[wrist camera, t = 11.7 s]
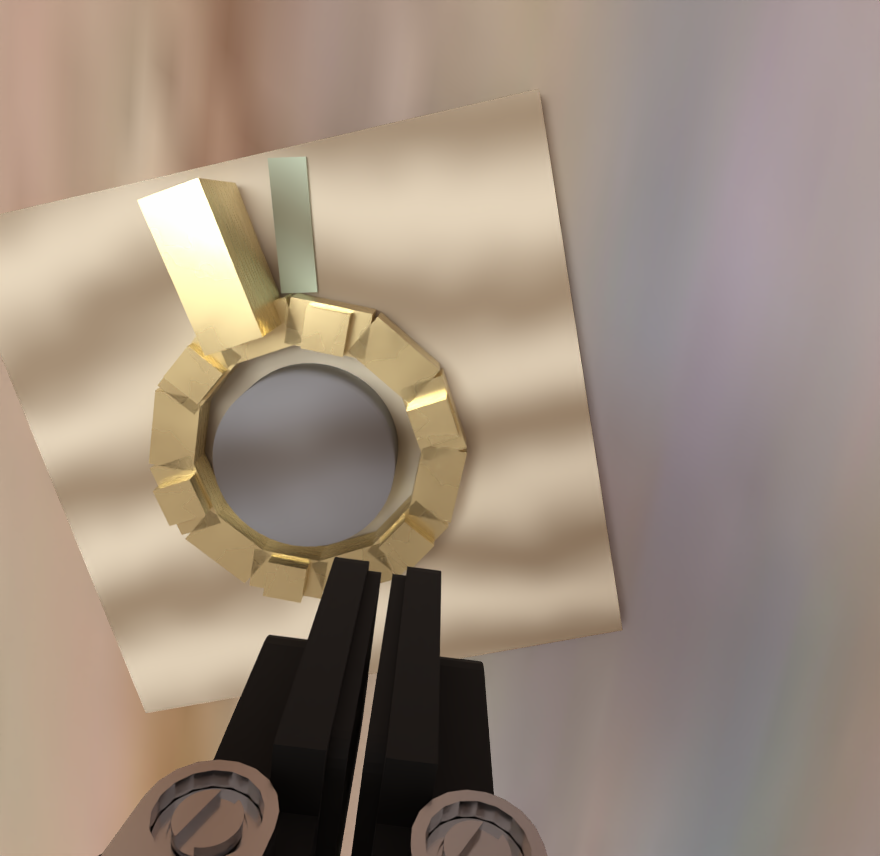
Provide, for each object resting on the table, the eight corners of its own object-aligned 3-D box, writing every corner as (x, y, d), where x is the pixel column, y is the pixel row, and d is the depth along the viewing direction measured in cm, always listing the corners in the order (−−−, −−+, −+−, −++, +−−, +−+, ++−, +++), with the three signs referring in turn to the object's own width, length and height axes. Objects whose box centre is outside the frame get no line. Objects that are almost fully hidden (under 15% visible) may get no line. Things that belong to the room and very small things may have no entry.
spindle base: (617, 617, 37) (635, 661, 33) (154, 698, 39) (124, 748, 35) (535, 93, 29) (547, 77, 26) (-34, 225, 31) (-97, 227, 28)
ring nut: (365, 136, 29) (350, 122, 24) (497, 534, 34) (505, 583, 29) (62, 245, 30) (-6, 251, 26) (235, 610, 35) (204, 668, 31)
